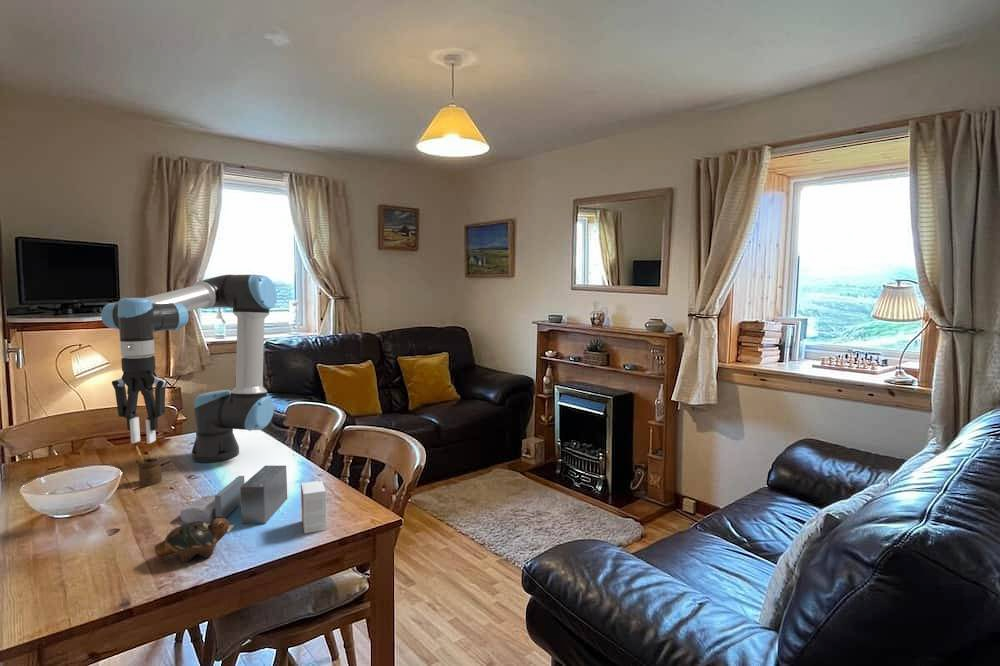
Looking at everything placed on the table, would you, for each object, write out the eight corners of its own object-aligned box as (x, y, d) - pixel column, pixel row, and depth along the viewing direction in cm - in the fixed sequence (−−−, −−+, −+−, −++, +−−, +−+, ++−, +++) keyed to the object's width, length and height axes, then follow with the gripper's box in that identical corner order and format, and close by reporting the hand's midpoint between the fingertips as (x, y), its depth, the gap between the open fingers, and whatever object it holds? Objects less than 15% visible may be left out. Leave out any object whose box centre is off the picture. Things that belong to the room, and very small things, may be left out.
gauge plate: (239, 499, 157) (238, 475, 157) (245, 499, 157) (244, 475, 157) (206, 530, 138) (204, 503, 138) (212, 530, 139) (210, 503, 138)
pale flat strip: (195, 526, 141) (195, 524, 141) (234, 526, 141) (234, 524, 141) (188, 532, 138) (188, 530, 138) (228, 532, 138) (228, 530, 138)
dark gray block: (266, 498, 159) (265, 465, 158) (287, 498, 159) (286, 465, 158) (241, 523, 143) (240, 487, 142) (265, 523, 143) (263, 486, 142)
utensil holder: (159, 484, 169) (157, 446, 168) (135, 487, 167) (133, 448, 165) (164, 477, 174) (162, 441, 173) (141, 480, 172) (138, 443, 171)
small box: (301, 521, 145) (300, 482, 144) (323, 517, 147) (322, 479, 146) (303, 534, 137) (302, 494, 136) (327, 530, 140) (325, 490, 138)
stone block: (177, 529, 144) (213, 523, 143) (173, 511, 143) (209, 505, 143) (205, 511, 155) (238, 506, 155) (201, 495, 155) (234, 489, 154)
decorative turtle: (234, 554, 127) (230, 523, 126) (157, 578, 119) (152, 544, 118) (228, 536, 135) (224, 506, 134) (156, 556, 127) (151, 525, 126)
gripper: (96, 358, 141) (102, 446, 144) (161, 358, 142) (166, 446, 144) (115, 353, 149) (121, 437, 151) (177, 354, 149) (182, 437, 152)
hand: (143, 441), depth 148 cm, fingers open, 3 cm apart
